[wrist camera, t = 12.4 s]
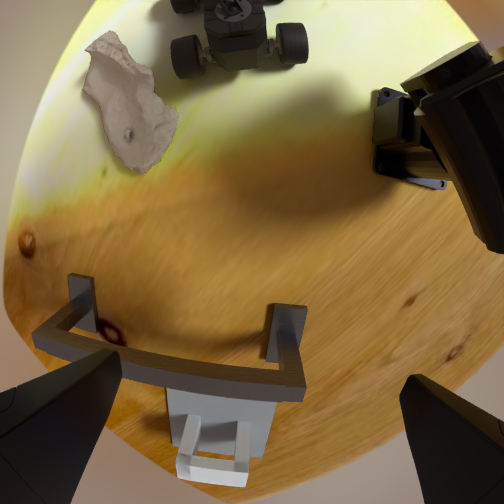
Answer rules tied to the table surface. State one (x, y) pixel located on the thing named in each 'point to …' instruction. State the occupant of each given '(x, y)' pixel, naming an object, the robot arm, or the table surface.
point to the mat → (220, 420)
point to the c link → (210, 467)
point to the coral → (129, 104)
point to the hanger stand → (177, 369)
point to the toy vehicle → (235, 38)
